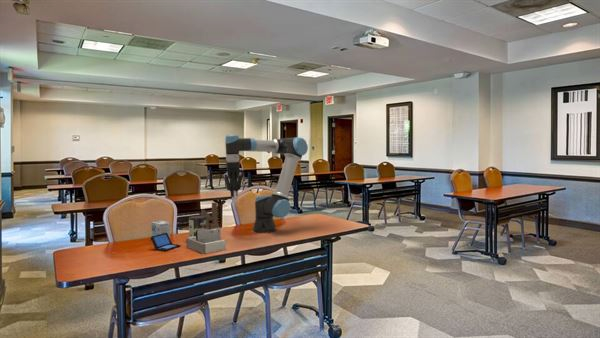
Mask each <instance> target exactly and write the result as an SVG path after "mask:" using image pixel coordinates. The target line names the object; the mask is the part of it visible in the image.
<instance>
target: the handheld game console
mask: <svg viewBox="0 0 600 338" xmlns="http://www.w3.org/2000/svg"><path fill="white" fill-rule="evenodd" d="M150 241H151V243H152V245H153V246H154V251H156V252H157V251H159V252H168V251H170V250H174V249H177V248H178V249H179V248H180V247H181V246H182V245H181V244H176V243H173V242H172V241H171V237H170V238H169V236H168V234H167V233H163V234H159V235H156V236H152V235H151V236H150Z"/></svg>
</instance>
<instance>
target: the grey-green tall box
mask: <svg viewBox="0 0 600 338" xmlns="http://www.w3.org/2000/svg"><path fill="white" fill-rule="evenodd" d="M204 229H206V216H202V214H201V215H190V216H189V217H188V230H189V231H188V234H189V235H188V238H189V237H195V236H196V230H204Z"/></svg>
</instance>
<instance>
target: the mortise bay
mask: <svg viewBox="0 0 600 338" xmlns="http://www.w3.org/2000/svg"><path fill="white" fill-rule="evenodd" d="M185 239H186V240H185V241H186V244H185V245H186V248H188V249H190V250H193V251H195V252H198V253H199V254H201V255H205V254H210V253H214V252H219V251H225V250H227V246H226V244H227V243H226V242H227V241H226V239H221V240H220V241H215V242H209V243H201V242H199V241H196V236H195V237H189V236H188V237H186V238H185Z"/></svg>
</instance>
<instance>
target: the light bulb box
mask: <svg viewBox="0 0 600 338" xmlns="http://www.w3.org/2000/svg"><path fill="white" fill-rule="evenodd" d="M170 226H171V225H170V222H169V221H165V220H157V221H151V237H152V236H156V235H159V234H163V233H167V234H168V236H169V238H170V239H171V229H170Z"/></svg>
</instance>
